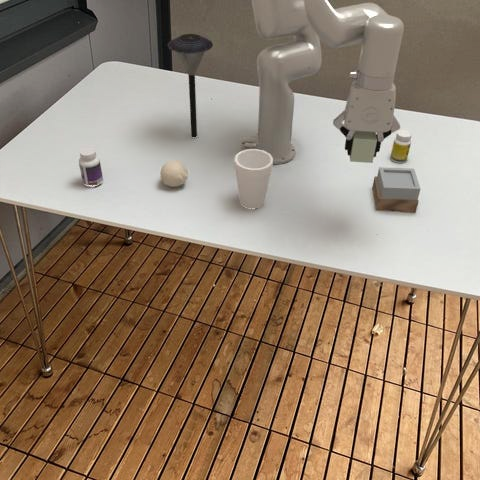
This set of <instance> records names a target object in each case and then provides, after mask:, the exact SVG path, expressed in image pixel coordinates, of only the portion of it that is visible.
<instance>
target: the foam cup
mask: <svg viewBox="0 0 480 480" xmlns="http://www.w3.org/2000/svg"><path fill="white" fill-rule="evenodd" d="M234 157H235V158H234V167H233V168H234V170H235V175H236V183H237V189H238V197H239V203H240V202H241V203H240V205H241V204H242V205H243V206H245V207H247V208H246V209H248V208H251V209H250V210H253V209H252V208H258V209H260V208H262V207H263V206H264V205H265V201H266V196H267V192H268V188H269V183H270V178H271V174H272V172H273V168H274V167H273V166H274V164H273V157H272V156H271V155H270V154H269V153H267V152H266V151H264V150H259V149H252V148H247V149H244V150H241V151H239V152H238V153H237V154H236V155H235V156H234ZM242 205H241V206H242ZM243 206H242V207H243ZM245 207H244V208H245ZM259 207H260V208H259Z"/></svg>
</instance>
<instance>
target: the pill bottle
mask: <svg viewBox="0 0 480 480" xmlns="http://www.w3.org/2000/svg"><path fill="white" fill-rule="evenodd" d="M79 156H80V157H79V159H78V167H79V171H80V174H81V175H80V176H81V181H82V184H83V183H84V184H86V185H92V186H93V185H98V184H100V183H101V182H102V181H103V182H104V175H103V171H102V165H101V160H100V157H99V156H98V155H97V152H96V148H93V147H90V146H89V147H83V148H82V149H80V150H79ZM84 184H83V185H84Z"/></svg>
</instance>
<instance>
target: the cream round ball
mask: <svg viewBox="0 0 480 480" xmlns="http://www.w3.org/2000/svg"><path fill="white" fill-rule="evenodd" d="M188 175H189V173H188V168H187V167H185V165H184V164H183V163H182V162H181V161H177V160H169V161H167V162H165V163H164V164H163V165H162V166H161V169H160V178H161V181H162V183H163V184H165V185H166V186H168V187H173V188H176V187H180V186H182V184H184V183H186V182H187V180H188V178H189V176H188Z"/></svg>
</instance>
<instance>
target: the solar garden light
mask: <svg viewBox="0 0 480 480" xmlns="http://www.w3.org/2000/svg"><path fill="white" fill-rule="evenodd" d="M213 46H214V43H213V41H212V40H210V39H209V38H206V37H204V36H202V35H200V34H196V33H184V34H181V35H179V36H177V37H176V38H173V39H172V40H169V42H168V43H167V47H168V49H169V50H171V51H172V52H174V53H175V52H176V53H177V55H178V57H179V59H180V61H181V63H182V65H183V67H184V68H185V70H186V73H187V74H188V89H189V94H188V95H189V113H190V114H189V115H190V117H189V118H190V132H191V133H190V135H191V136H192V137H196V136H197V137H198V129H197V128H198V126H197V124H198V123H197V122H198V121H197V102H196V101H197V99H196V97H197V96H196V73H197V70H198V68H199V65H200V63H201V61H202V58H203V56H204V55H205V52H208V51H209V50H211V49H213ZM192 137H191V138H192ZM197 137H196V138H197Z"/></svg>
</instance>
